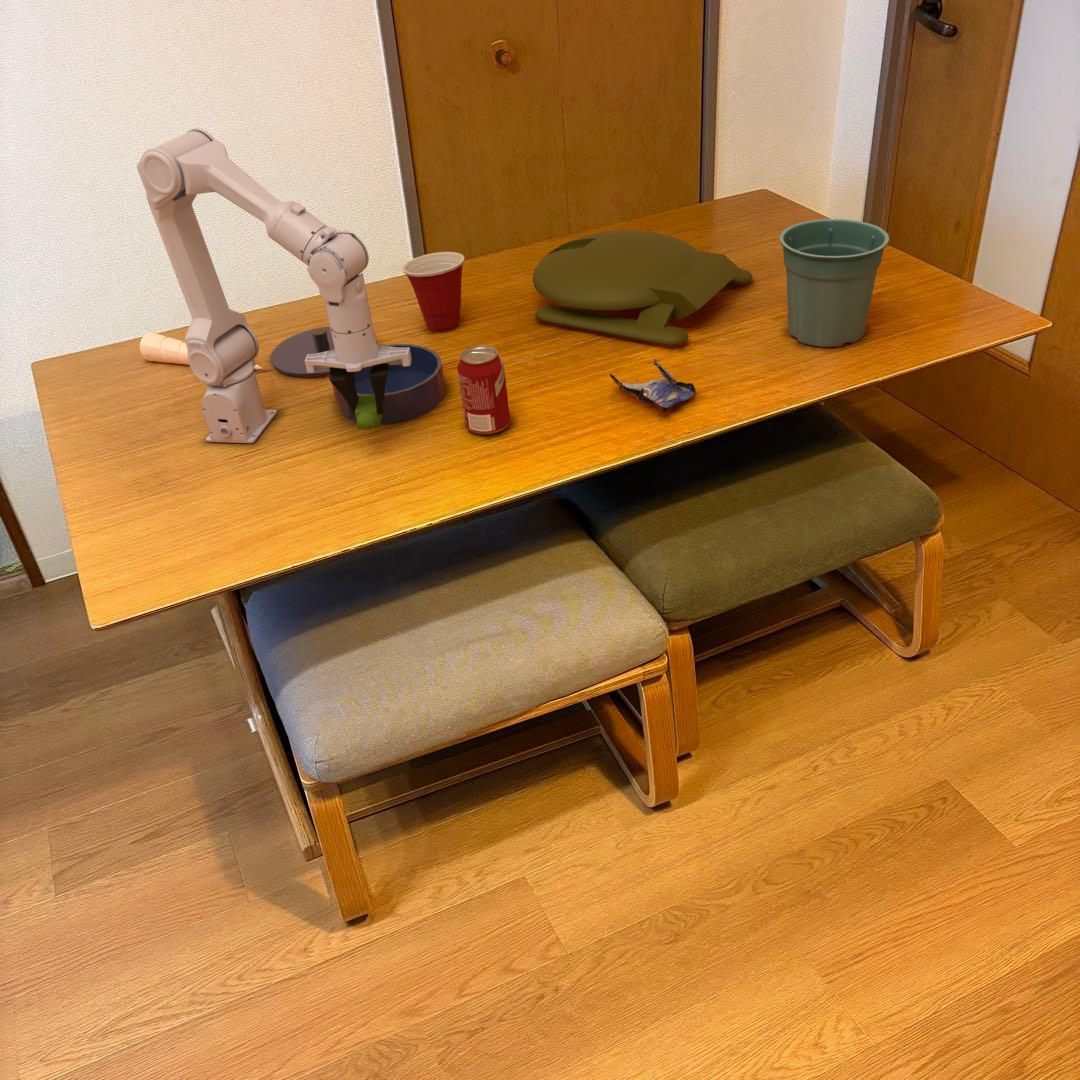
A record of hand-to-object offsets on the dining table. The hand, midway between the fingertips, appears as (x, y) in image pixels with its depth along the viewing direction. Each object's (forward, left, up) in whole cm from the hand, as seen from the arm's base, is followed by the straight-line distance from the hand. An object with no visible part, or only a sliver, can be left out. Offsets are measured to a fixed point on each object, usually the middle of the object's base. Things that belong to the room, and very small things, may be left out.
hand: (368, 411), depth 156 cm
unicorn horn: (+26, +41, -7) cm, 49 cm away
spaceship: (+53, -30, -7) cm, 61 cm away
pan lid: (+30, +20, -6) cm, 36 cm away
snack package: (+17, -39, -7) cm, 43 cm away
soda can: (+8, -15, -7) cm, 18 cm away
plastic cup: (+42, +2, -7) cm, 42 cm away
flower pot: (+41, -64, -7) cm, 76 cm away
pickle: (0, 0, -1) cm, 1 cm away
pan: (+16, +3, -7) cm, 17 cm away
